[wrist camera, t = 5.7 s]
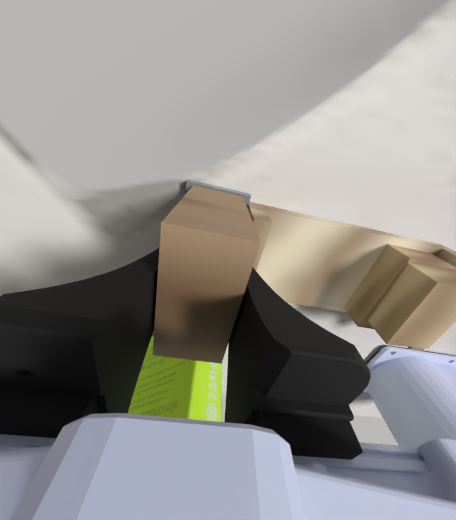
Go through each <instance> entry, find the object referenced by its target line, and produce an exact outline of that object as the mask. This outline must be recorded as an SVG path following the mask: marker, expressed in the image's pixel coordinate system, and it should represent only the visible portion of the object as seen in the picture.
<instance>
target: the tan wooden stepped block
mask: <svg viewBox="0 0 456 520" xmlns="http://www.w3.org/2000/svg"><path fill="white" fill-rule="evenodd" d="M247 209H248V211H249V214H250V216H251V219H252V221H253V224H254V227H255V229H256V232H257V234H258V237H259V239H260V242H261V243H260V246H259V249H258V252H257V255H256V258H255V261H254V265H253V268H254V269H255V270H256V271H257V273H258V274H259V275H260V276H261V278H262V279H263V280H264V281H265V282H266V283H267V284H268V285H269V286H270V287H271V288H272V290H273V291H274V292H275V293H277V294H278V295H279V296H280V297H281V298H282V299H283V300H284V301H285V302H287V303H292V304H298V305H304V306H310V307H316V308H322V309H328V310H334V311H340V312H346V313H348V312H347V311H346V310H345V308H344V307H345V305H346V304H347V302H348V301H349V299H350V298H351V296H352V295H353V293H354V292H355V291H356V289H357V288H358V286H359V285H360V283H361V282H362V280H363V279H364V277H365V276H366V274H367V273H368V272H369V270H370V269H371V267H372V266H373V264H374V263H375V261H376V260H377V258H378V257H379V256H380V254H381V253H382V251H383V250H384V248H385V247H386V245H387V244H390V245H395V246H399V247H404V248H408V249H413V250H418V251H422V252H427V253H431V254H433V255H435V256H437V257H439V258H441V259H442V260H444V261H446V262H448V263H450V264H452V265H453V266H455V267H456V252H455V251H453V250H451V249H449V248H447V247H444V246H442V245H439V244H435V243H430V242H426V241H421V240H417V239H412V238H408V237H403V236H399V235H394V234H390V233H385V232H381V231H377V230H372V229H368V228H363V227H359V226H354V225H350V224H345V223H341V222H336V221H332V220H328V219H323V218H319V217H314V216H310V215H305V214H301V213H296V212H292V211H287V210H283V209H278V208H274V207H270V206H265V205H261V204H256V203H252V202H249V204H248V208H247ZM408 348H409V349H411V350H417V351H422V350H424V349H425V348H420V347H410V346H408Z"/></svg>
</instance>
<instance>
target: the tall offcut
mask: <svg viewBox="0 0 456 520" xmlns="http://www.w3.org/2000/svg"><path fill="white" fill-rule="evenodd" d="M260 243H261V242H260V239H259V237H258V234H257V232H256V229H255V227H254V224H253V221H252V219H251V216H250V214H249V211H248V209H247V206H246V204H245V201H244V199H243V196H239V195H235V194H230V193H226V192H222V191H217V190H213V189H208V188H204V187H199V186H195V185H193V186H192V188H191V189H190V190H189V191H188V192H187V193H186V194H185V196H184V197H183V198H182V199H181V200H180V201H179V202H178V204H177V205H176V206H175V207H174V208H173V209H172V210H171V212H170V213H169V214H168V215H167V216H166V217H165V218H164V220H163V221H162V222H161V233H160V248H159V263H158V279H157V294H156V309H155V325H154V340H153V355H155V356H163V357H171V358H179V359H188V360H196V361H204V362H212V363H220V364H221V363H222V360H223V357H224V354H225V351H226V348H227V345H228V342H229V339H230V336H231V332H232V329H233V326H234V323H235V320H236V317H237V314H238V311H239V308H240V305H241V302H242V299H243V295H244V292H245V289H246V286H247V283H248V280H249V277H250V274H251V271H252V268H253V265H254V261H255V258H256V255H257V252H258V249H259V246H260Z"/></svg>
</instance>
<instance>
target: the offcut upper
mask: <svg viewBox="0 0 456 520" xmlns="http://www.w3.org/2000/svg"><path fill="white" fill-rule="evenodd" d="M368 322H369V323H370V324H371V325H372V327H373V328H374V329H375V330H376V332H377V333H378V334H379V335H380V337H381V338H382V339H383V340H384V342H385V343H386V344H389V345H399V346H410V347H420V348H429V347H430V346H431V345H432V344H433V343H434V342H435V341H436V340H437V339H438V338H439V337H440V336H441V335H443V334H444V333H445V332H446V331H447V330H448V329H449V328H450V327H451V326H452V325H453V324H454V323H455V322H456V271H455V270H454V269H450V268H442V267H435V266H427V265H420V264H412V263H408V264H407V265H406V267H405V268H404V270H403V271H402V273H401V274H400V275H399V277H398V278H397V280H396V281H395V282H394V284H393V285H392V287H391V288H390V290H389V291H388V292H387V294H386V295H385V297H384V298H383V300H382V301H381V302H380V304H379V305H378V307H377V308H376V310H375V311H374V312H373V314H372V315H371V317H370V318H369V320H368Z"/></svg>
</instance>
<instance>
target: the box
mask: <svg viewBox="0 0 456 520" xmlns="http://www.w3.org/2000/svg"><path fill="white" fill-rule="evenodd" d="M153 340H154V335H153V336H152V337H151V340H150V343H149V346H148V349H147V352H146V355H145V358H144V361H143V364H142V368H141V371H140V374H139V377H138V380H137V384H136V387H135V390H134V393H133V397H132V400H131V403H130V407H129V410H128V413H127V414H137V415H149V416H160V417H171V418H182V419H193V420H205V421H216V422H221V408H222V363H221V364H220V363H212V362H204V361H196V360H188V359H179V358H171V357H163V356H155V355H153Z"/></svg>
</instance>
